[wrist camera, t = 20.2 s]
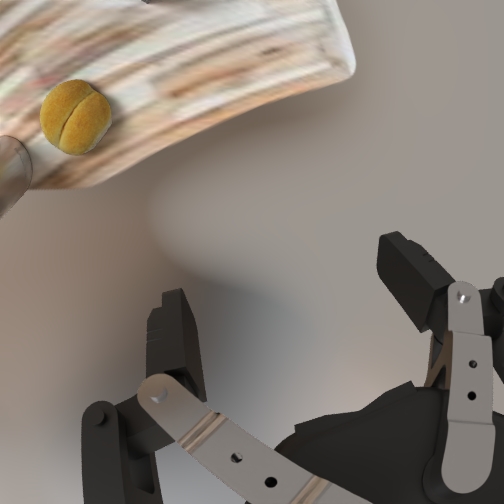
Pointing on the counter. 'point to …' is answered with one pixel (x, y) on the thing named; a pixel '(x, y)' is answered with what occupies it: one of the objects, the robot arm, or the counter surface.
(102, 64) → the counter surface
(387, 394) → the robot arm
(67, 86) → the bread roll
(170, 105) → the counter surface
